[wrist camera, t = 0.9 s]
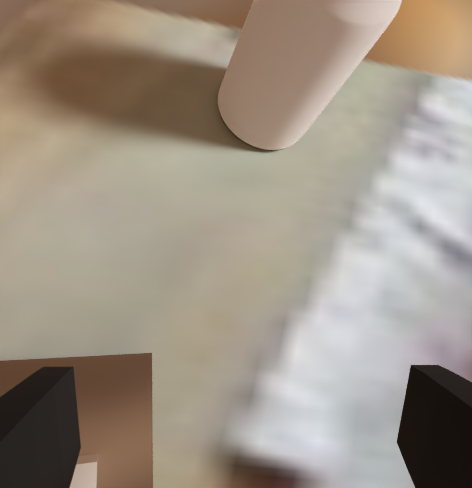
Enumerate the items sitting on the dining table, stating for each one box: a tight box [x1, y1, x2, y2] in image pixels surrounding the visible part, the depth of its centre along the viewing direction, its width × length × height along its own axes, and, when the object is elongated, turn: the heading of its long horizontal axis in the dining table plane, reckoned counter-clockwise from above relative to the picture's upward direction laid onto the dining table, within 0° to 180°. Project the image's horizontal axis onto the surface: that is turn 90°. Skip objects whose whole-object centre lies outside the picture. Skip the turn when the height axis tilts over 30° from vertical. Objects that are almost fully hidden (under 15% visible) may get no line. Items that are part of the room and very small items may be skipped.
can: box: [218, 0, 402, 150], centre depth 23 cm, size 6×6×12 cm
